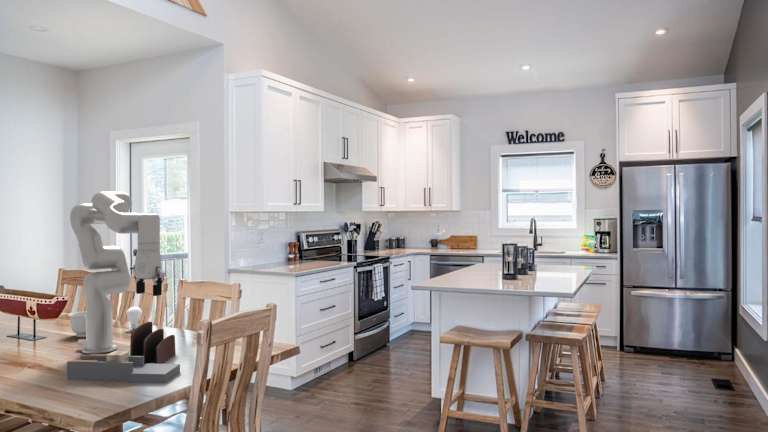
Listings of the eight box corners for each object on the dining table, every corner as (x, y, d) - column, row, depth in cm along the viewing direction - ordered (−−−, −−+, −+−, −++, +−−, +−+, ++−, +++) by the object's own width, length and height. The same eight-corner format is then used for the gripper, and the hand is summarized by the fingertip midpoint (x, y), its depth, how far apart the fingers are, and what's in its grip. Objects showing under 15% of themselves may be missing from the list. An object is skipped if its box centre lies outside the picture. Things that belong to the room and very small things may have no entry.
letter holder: (129, 369, 198) (129, 329, 198) (150, 354, 218) (150, 318, 217) (157, 368, 198) (157, 329, 198) (175, 354, 218) (175, 318, 218)
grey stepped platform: (63, 381, 183) (63, 362, 182) (85, 370, 195) (85, 352, 194) (164, 383, 181) (164, 364, 181) (180, 372, 193) (180, 354, 193)
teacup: (71, 341, 238) (71, 317, 238) (65, 334, 250) (65, 312, 250) (102, 337, 246) (102, 314, 246) (95, 331, 258) (95, 309, 257)
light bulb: (132, 331, 257) (132, 308, 257) (123, 330, 260) (123, 306, 260) (144, 329, 262) (144, 306, 262) (136, 327, 266) (136, 304, 266)
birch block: (106, 369, 185) (106, 355, 185) (114, 365, 190) (114, 351, 190) (121, 370, 185) (121, 355, 185) (128, 365, 190) (128, 351, 190)
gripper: (125, 247, 203) (125, 293, 203) (154, 249, 194) (154, 297, 194) (143, 246, 209) (143, 291, 209) (172, 247, 200) (172, 295, 200)
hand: (148, 294), depth 202 cm, fingers open, 9 cm apart
